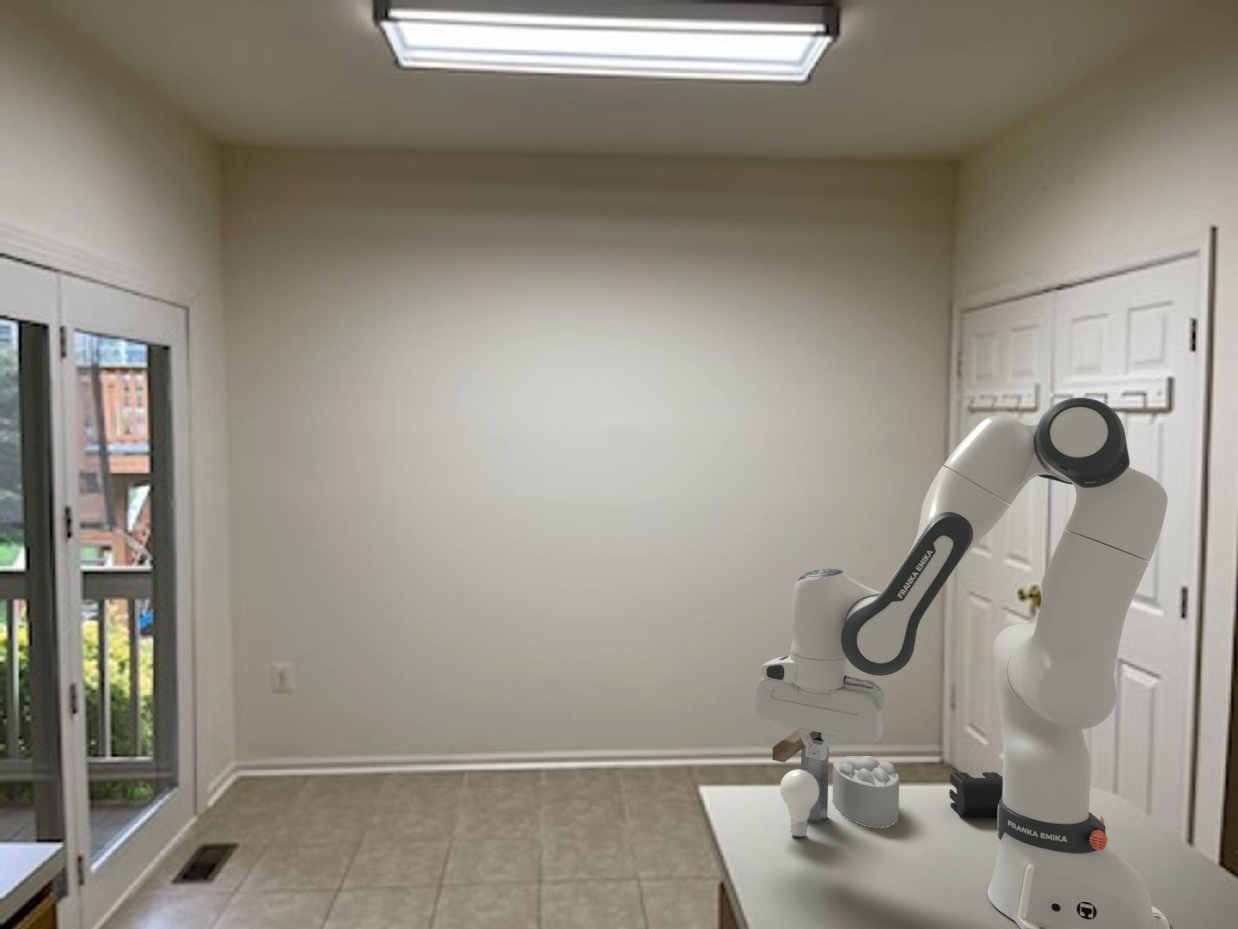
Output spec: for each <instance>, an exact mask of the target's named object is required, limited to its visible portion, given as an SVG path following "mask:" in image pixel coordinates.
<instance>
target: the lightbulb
mask: <svg viewBox="0 0 1238 929" xmlns="http://www.w3.org/2000/svg"><path fill="white" fill-rule="evenodd" d="M779 791H780V796H781V798H782V800H783V802H784V803H785V805H786V808H788V809H787V810H788V815H789V817H790V833H791V834H792V835H793V836H795V837H797V838H802V837H805V836H807V835H808V821H807V819H808V818H809V814H810V811H811V809H812V807H813V806H814V805H815V803H816V802H817V800H818V797H819V786H818V783H817V781H816V779H815V778H814V776H813V775H811V774H810V773H809V772H807V771H805V770H801V768H800V769H799V768H798V769H792V770H790V771H788V772H787V773H786V774H784V776H783V777H782V779H781V781H780V786H779Z"/></svg>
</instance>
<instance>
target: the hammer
mask: <svg viewBox="0 0 1238 929" xmlns="http://www.w3.org/2000/svg"><path fill="white" fill-rule="evenodd" d="M810 736H811V739H812V741H813V740H814V739H815V738H821V733H820V732H816V731H812V732H811V733H810ZM804 747H805V745H804V743H803V741H802V739H801V737H800V735H799V728H797V729H796V730H795V731H793V732H791V734H789V735H787V736H786V737H785V738H784V739H782V740H781V741H780V742H778V743H776V745H774V746H773V747H772V761H776V762H780V763H786V762H787V761H788V760H790V759H791V758H792V757H793V756H795V755H796V754H797V753H799V752H800V751H801V749H802V748H804Z"/></svg>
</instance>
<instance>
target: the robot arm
mask: <svg viewBox="0 0 1238 929" xmlns="http://www.w3.org/2000/svg"><path fill="white" fill-rule="evenodd" d="M1130 462H1131V460H1130V454H1129V448H1128V445H1127V437H1126V431H1125V427H1124V424H1123V422H1122V419H1121V418H1120V417H1119V415H1118V413H1116V412H1115V410H1114V409H1113V408H1111V407H1110V406H1109V405H1108V404H1106V403H1104V402H1102V401H1100V400H1097V399H1094V398H1089V397H1071V398H1067V399H1064V400H1062V401H1060V402H1057V403H1056V404H1054V405H1052V406H1051V407H1050V408H1049V409H1047V410H1046V411H1045V412H1044V414H1043V415H1042V417H1041V418H1040V420H1039V422H1038V423H1037V424H1033V425H1032V424H1026V423H1025V424H1024V423H1023V422H1021V421H1020V420H1017V419H1015V418H1012V417H1008V416H1004V415H1003V416H1002V415H993V416H989V417H987V418H985V419H982V420H981V421H980V422H979V423H978V424H977V425H976V426H975V427H974V428H973V429H972V430H970V432H969V433H968V434H967V435H966V436H965V437H964V438H963V440H961V442H960V443H959V444H958V445H957V447H955V449H953V451H952V452H951V454H950V455H949V457H948V458H947V459H946V461H945V462H944V464H943V465H942V466H941V468H940V469H939V471H938V472H937V474H936V475H935V477H934V479H933V480H932V482H931V484H930V486H929V488H928V490H927V492H926V495H925V498H924V500H923V502H922V505H921V509H920V510H921V511H920V517H919V524H918V530H917V533H916V537H915V540H914V542H913V544H912V546H911V549H910V550H909V551H908V553H907V555H906V556H905V558H904V560H903V561H902V563H901V564H900V566H899V567H898V568H897V570H896V572H895V573H894V575H893V576H891V579H890V580H889V582H888V583H887V585H886V586H885V588H884V589H883V591H882V592H881V591H879V590H875V589H873V588H870V587H868V586H866V585H864V584H862V583H860V582H859V581H856V580H855V579H853V578H852V577H851V576H849V575H848V574H847V573H846V572H845V571H844V570H842V569H839V568H838V569H837V568H823V569H816V570H812V571H808V572H806V573H804V574H802V575H801V576H800V577H799V578H798V579H797V580H796V582H795V583H794V588H793V594H792V599H791V600H792V601H791V602H792V603H791V617H790V618H791V619H790V624H791V626H790V627H791V629H792V634H793V636H792V642H791V644H790V655H785V656H779V657H775V658H773V659H770V660H769V661H767V662H765V663H764V664H762V665H761V666H760V675H761V677H762V678H761V679H760V680H759V681H758V683H757V686H756V691H755V699H754V700H755V701H754V713H755V715H756V717H758V720H761V721H765V722H771V723H775V724H780V725H785V726H789V727H794V728H797V729H799V735H800V737H801V739H802V741H803V743H804V745H805V746H806V752H805V755H806V756H807V757H811V758H815V759H819V760H823V761H824V760H825V759H826V757H827V747H828V746H829V747H830V745H831V742H832V741H833V740H834V738H835V737H839V738H845V739H847V740H854V741H857V742H863V743H867V744H874V743H875V742H877V741H878V740H880V738H882V736H883V733H884V722H883V721H884V720H883V711H882V709H883V707H884V697H885V696H884V690H883V689H882V688H881V686H879V685H878V684H876V683H875V681H873V680H870V679H860V678H857V677H854V676H853V677H852V676H848V661H849V663H850V664H851V665H852V666H853V667H854V668H856V669H857V670H859V671H860V672H863V673H865V674H868V675H872V676H878V677H879V676H881V677H882V676H889V675H893V674H895V673H897V672H899V671H901V670H902V669H903V668H904V667H905V666H907V664H908V663H909V662H910V660H911V658H912V656H913V653H914V650H915V647H916V638H917V632H918V627H919V625H920V622H921V620H922V618H923V616H924V615H925V613H926V612H927V610H928V609H929V608H930V606H931V604H932V603H933V601H934V599H936V596H937V595H938V594H939V592H940V590H941V589H942V588H943V586H944V585H945V583H946V582H947V580H948V579H949V577H950V576H951V575H952V573H953V571H954V570H955V568H957V566H958V565H959V564H960V563H961V562H962V560H963V559H964V558H965V557H966V556H967V555H968V554H969V553H970V552H971V551H972V550H973V549H974V548H975V547H976V546H977V545H978V543H979V542H980V541H981V540H983V538H985V536H986V535H988V534H989V532H990V531H991V530H992V529H993V528H994V527H995V526H996V525H997V523H998V522H999V521H1000V520H1001V519H1002V517H1003V515H1005V513H1006V512H1007V511H1008V509H1009V508H1010V506H1012V504H1013V502H1014V501H1015V499H1016V498H1017V496H1018V495H1019V493H1020V492H1021V491H1022V489H1023V488H1024V487H1025V486H1027V484H1028V483H1029V482H1030V481H1031V480H1033V479H1034V478H1036V477H1040V478H1043V479H1047V480H1051V481H1056V482H1059V483H1064V484H1067V485H1073V487H1074V489H1075V494H1076V498H1075V499H1076V500H1075V503H1074V507H1073V509H1072V513H1071V514H1070V516H1069V519H1068V521H1067V523H1066V525H1065V527H1064V530H1063V532H1062V534H1061V536H1060V539H1059V540H1058V543H1057V546H1056V548H1055V550H1054V552H1053V554H1052V556H1051V559H1050V560H1049V562H1048V565H1047V568H1046V570H1045V572H1044V574H1043V577H1042V579H1041V599H1040V605H1039V609H1038V610H1039V611H1038V615H1037V619H1036V622H1035V623H1033V622H1021V623H1020V622H1019V623H1014V624H1011V625H1009V626H1007V627H1006V628H1004V629H1002V630H1001V631H1000V633H999V634H998V635H997V636H996V637H995V640H994V642H993V644H992V645H993V646H992V648H991V649H992V650H991V652H992V653H991V656H992V661H993V666H994V671H995V682H996V684H995V685H996V696H997V705H998V712H999V720H1000V721H999V722H1000V726H1001V734H1002V735H1001V736H1002V737H1001V738H1002V751H1003V752H1002V777H1003V789H1002V796H1001V799H1000V800H999V805H998V815H997V816H996V818H997V820H996V822H997V823H996V824H997V826H996V827H997V829H996V830H997V833H998V834H997V836H998V839H999V843H998V848H997V850H998V851H997V855H996V861H995V866H994V869H993V873H992V877H991V879H990V883H989V885H988V888H987V894H986V895H987V897H988V899H989V901H990V902H991V904H992V905H993V906H994V907H995V908H996V909H997V910H998V911H1000V912H1001V913H1002V914H1004V915H1005V916H1006V917H1008V918H1010V919H1011V920H1013V921H1014V922H1015V923H1016V925H1017V926H1018V927H1019V928H1020V929H1171V925H1170V923H1169V921H1168V919H1167V917H1166V916H1165V915H1164V913H1163V912H1162V911H1161V910H1159V909H1158V908H1157V907H1155V906H1153V904H1152V900H1151V896H1150V893H1149V892H1150V891H1149V889H1148V886H1147V884H1146V881H1145V879H1144V878H1143V876H1142V875H1141V874H1140V872H1139V871H1137V870H1136V869H1135V868H1134V867H1132V866H1131V865H1130V864H1129V863H1128V862H1126V860H1124V859H1123V858H1122V857H1121V856H1119V855H1118V854H1117V853H1116V851H1114V850H1113V849H1112V848H1111V847H1109V846H1108V844H1107V843H1108V837H1107V832H1106V830H1107V829H1106V825H1105V819H1104V817H1103V816H1100V819H1099V818H1098V817H1096V815H1094V814H1093V813H1092V812H1090V796H1091V795H1090V792H1091V790H1090V789H1091V756H1090V752H1089V750H1088V746H1087V744H1086V740H1085V736H1084V730H1086V729H1087V730H1088V729H1091V728H1094V727H1096V726H1099V725H1101V723H1103V722H1104V721H1106V720H1107V719H1108V717H1109V716H1110V715H1111V714H1112V712H1113V710H1114V708H1115V706H1116V702H1117V687H1116V681H1115V670H1116V669H1115V668H1116V666H1117V665H1116V664H1117V658H1118V654H1119V653H1118V652H1119V648H1120V644H1121V643H1120V642H1121V637H1122V633H1123V627H1124V624H1125V620H1126V617H1127V613H1128V611H1129V609H1130V606H1131V603H1132V602H1133V599H1134V596H1135V594H1136V592H1137V590H1138V589H1139V586H1140V583H1141V581H1142V579H1143V576H1144V574H1145V572H1146V570H1147V567H1148V566H1149V563H1150V561H1151V559H1152V556H1153V554H1154V552H1155V549H1156V547H1157V544H1158V541H1159V539H1160V535H1161V533H1162V529H1163V524H1164V521H1165V517H1166V512H1167V507H1168V503H1169V502H1168V501H1169V498H1168V494H1167V491H1166V490H1165V488H1164V487H1163V486H1162V484H1160V483H1159V482H1158V481H1157V480H1156V479H1155V478H1153V477H1152V476H1150V475H1148V474H1146V473H1145V472H1142V471H1139V470H1136V469H1134V468H1132V467H1131V466H1130V464H1131V463H1130ZM812 731H816V732H820V733H821V739H823V740H824V739H825V741H824V742H823V744H822V745H817V744H814V743H813V741H812V739H811V736H810V733H811V732H812Z"/></svg>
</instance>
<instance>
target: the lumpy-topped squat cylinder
mask: <svg viewBox="0 0 1238 929" xmlns="http://www.w3.org/2000/svg"><path fill="white" fill-rule="evenodd" d="M831 802H832V805H833V804H834V805H833V806H835V807H834V809H835V810H836V809H837V810H838V811H839V812H840V813H841V814H840V813H839V812H838V811H837V810H836V811H837V812H838V813H839V814H840V815H841V816H842V815H843V816H845V817H846V818H848V819H850V820H852V821H853V822H852V821H851V822H852V823H854V822H858V823H860V824H863V825H866V826H865V827H867V826H871V827H877V828H876V829H882V828H881V827H887V826H890V825H892V824H893V823H895V822H896V821H897V819H898V820H899V817H900V816H899V815H900V814H899V812H900V809H899V808H900V776H899V773H897V772H896V769H895V767H894V764H892V763H891V762H890V761H889V762H888V761H882V760H879V759H876V758H875V757H873V756H871V755H864V756H856V755H855V756H854V755H853V756H852V755H851V756H850V755H849V756H846V757H843V758H838V759H836V760H834V761H833V767H832V801H831ZM843 816H842V817H843ZM898 816H899V817H898ZM846 818H845V819H846ZM848 819H847V820H848ZM850 820H849V821H850ZM897 822H898V821H897ZM897 822H896V823H897ZM860 824H859V825H860ZM863 825H862V826H863ZM871 827H870V828H871ZM878 827H879V828H878Z"/></svg>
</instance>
